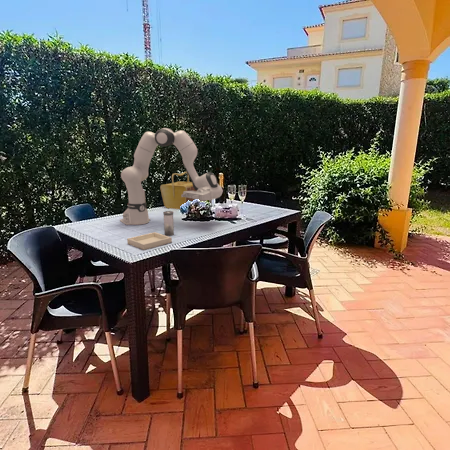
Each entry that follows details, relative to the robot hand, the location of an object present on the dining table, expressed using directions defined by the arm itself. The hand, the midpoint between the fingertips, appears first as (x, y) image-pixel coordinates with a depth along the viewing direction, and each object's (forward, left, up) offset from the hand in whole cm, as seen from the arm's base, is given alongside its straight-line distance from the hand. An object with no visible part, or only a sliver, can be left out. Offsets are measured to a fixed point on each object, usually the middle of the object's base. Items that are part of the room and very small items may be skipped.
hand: (187, 196), depth 193 cm
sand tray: (+6, -33, -22) cm, 40 cm away
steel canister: (0, -15, -22) cm, 26 cm away
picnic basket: (-65, +49, -22) cm, 84 cm away
